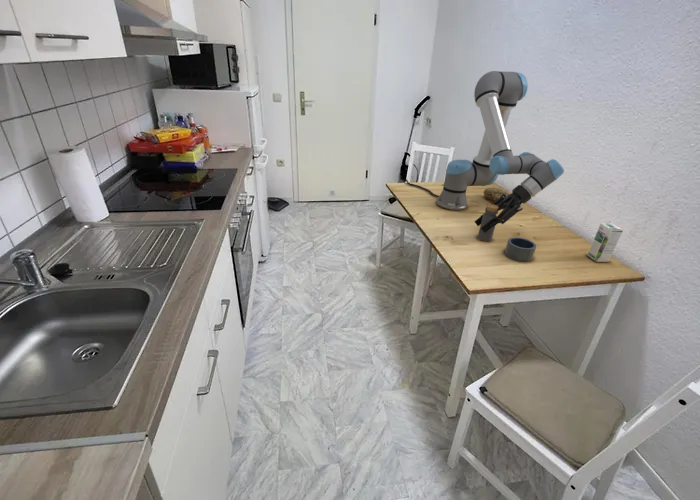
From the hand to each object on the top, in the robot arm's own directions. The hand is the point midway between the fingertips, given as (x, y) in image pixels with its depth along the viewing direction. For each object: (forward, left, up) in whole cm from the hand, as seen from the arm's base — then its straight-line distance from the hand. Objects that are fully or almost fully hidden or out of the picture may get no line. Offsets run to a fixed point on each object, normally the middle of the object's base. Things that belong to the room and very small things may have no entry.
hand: (479, 227), depth 154 cm
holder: (+18, -1, -6) cm, 19 cm away
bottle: (+2, +3, -6) cm, 7 cm away
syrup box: (+42, +21, -6) cm, 48 cm away
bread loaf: (-13, +54, -6) cm, 55 cm away
